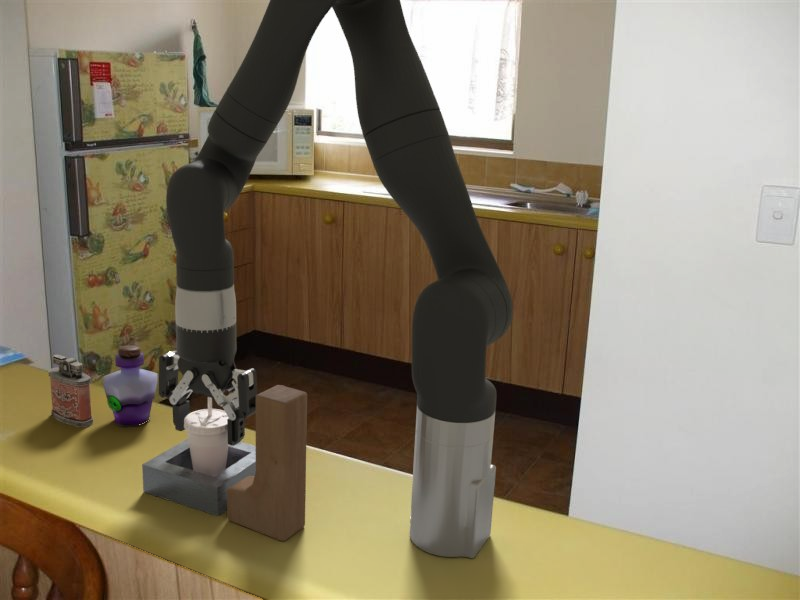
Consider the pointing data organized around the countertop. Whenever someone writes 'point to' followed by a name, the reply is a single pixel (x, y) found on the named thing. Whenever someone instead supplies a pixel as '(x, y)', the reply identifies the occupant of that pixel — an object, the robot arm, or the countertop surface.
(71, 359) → the lighter
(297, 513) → the wooden block
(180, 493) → the frame
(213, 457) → the smoothie
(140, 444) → the countertop surface
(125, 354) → the potion bottle
